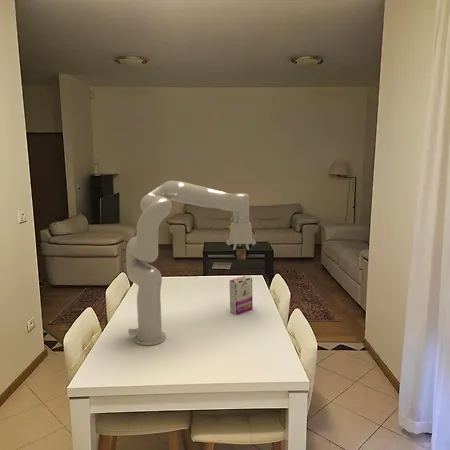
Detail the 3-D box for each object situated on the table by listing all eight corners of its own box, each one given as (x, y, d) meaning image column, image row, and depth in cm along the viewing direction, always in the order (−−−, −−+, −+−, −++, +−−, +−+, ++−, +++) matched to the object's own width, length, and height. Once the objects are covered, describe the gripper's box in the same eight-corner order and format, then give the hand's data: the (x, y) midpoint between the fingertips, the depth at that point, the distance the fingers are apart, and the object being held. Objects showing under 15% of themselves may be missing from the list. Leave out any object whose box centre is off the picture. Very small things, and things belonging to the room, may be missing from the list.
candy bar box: (245, 306, 203) (245, 275, 200) (252, 309, 199) (252, 277, 196) (229, 312, 196) (229, 279, 193) (236, 315, 192) (236, 282, 189)
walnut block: (236, 259, 191) (236, 251, 190) (236, 257, 195) (236, 249, 194) (245, 259, 191) (245, 251, 190) (245, 257, 195) (245, 249, 194)
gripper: (222, 221, 186) (223, 259, 189) (259, 221, 185) (259, 259, 189) (223, 218, 193) (223, 255, 197) (258, 218, 193) (258, 255, 196)
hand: (241, 257), depth 193 cm, fingers closed on walnut block, 4 cm apart
